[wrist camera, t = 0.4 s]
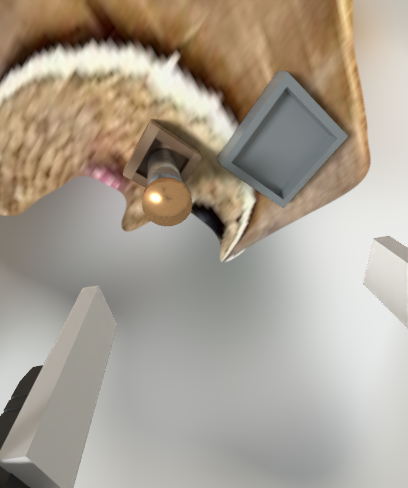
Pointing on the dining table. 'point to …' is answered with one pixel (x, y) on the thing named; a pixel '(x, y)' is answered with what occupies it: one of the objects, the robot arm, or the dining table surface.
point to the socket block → (160, 138)
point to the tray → (281, 141)
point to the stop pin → (165, 190)
